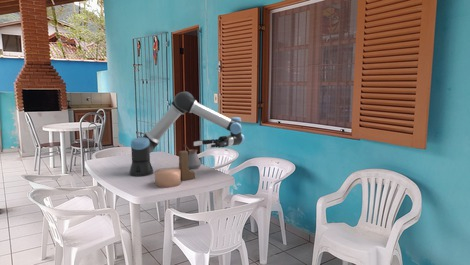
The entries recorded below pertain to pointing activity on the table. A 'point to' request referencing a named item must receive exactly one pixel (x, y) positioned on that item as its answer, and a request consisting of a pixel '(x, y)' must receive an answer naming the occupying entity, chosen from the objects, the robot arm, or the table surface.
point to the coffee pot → (193, 159)
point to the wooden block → (185, 166)
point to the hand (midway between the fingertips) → (200, 145)
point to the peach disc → (168, 177)
